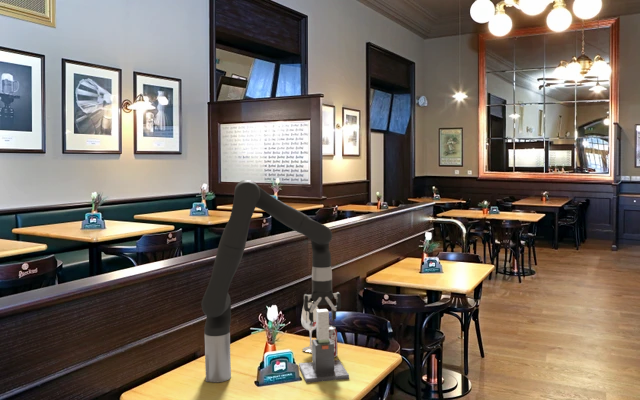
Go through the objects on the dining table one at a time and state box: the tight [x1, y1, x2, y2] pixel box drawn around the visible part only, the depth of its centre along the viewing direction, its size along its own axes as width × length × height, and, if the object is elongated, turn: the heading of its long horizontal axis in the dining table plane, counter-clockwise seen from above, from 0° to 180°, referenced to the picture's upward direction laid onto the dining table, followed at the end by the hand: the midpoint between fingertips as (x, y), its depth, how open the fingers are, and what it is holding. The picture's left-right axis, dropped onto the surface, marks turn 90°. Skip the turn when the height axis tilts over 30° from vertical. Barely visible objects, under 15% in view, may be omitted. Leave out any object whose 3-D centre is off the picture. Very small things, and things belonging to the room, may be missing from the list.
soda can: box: [329, 325, 338, 358], centre depth 234 cm, size 7×7×12 cm
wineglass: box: [300, 301, 319, 354], centre depth 241 cm, size 8×8×20 cm
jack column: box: [315, 308, 330, 344], centre depth 216 cm, size 4×4×16 cm
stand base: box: [298, 338, 350, 384], centre depth 216 cm, size 16×16×12 cm
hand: (322, 321), depth 215 cm, fingers open, 7 cm apart
